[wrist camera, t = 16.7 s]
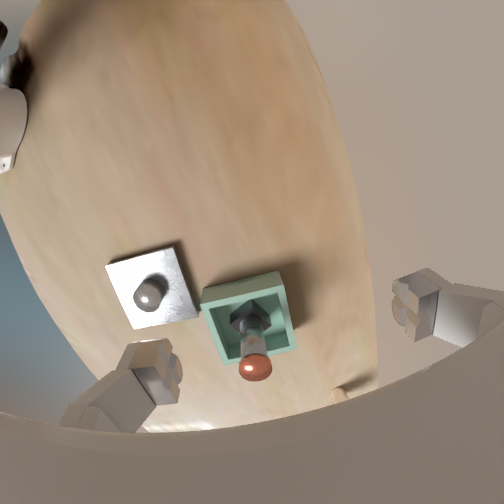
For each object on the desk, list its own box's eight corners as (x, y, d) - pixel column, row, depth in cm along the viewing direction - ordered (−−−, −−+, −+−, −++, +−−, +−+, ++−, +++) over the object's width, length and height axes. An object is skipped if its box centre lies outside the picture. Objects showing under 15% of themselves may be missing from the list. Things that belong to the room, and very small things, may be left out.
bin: (224, 346, 47) (224, 365, 42) (203, 288, 43) (199, 304, 38) (291, 331, 46) (296, 349, 42) (278, 270, 42) (283, 284, 38)
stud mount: (136, 324, 44) (129, 337, 40) (109, 262, 40) (98, 272, 36) (199, 312, 44) (196, 325, 40) (174, 244, 40) (169, 253, 36)
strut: (248, 330, 44) (253, 387, 32) (230, 314, 43) (229, 369, 31) (269, 315, 44) (281, 370, 31) (251, 297, 42) (257, 351, 30)
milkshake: (321, 399, 53) (332, 433, 44) (333, 383, 52) (347, 418, 43) (336, 401, 54) (349, 433, 45) (349, 386, 53) (364, 418, 43)
